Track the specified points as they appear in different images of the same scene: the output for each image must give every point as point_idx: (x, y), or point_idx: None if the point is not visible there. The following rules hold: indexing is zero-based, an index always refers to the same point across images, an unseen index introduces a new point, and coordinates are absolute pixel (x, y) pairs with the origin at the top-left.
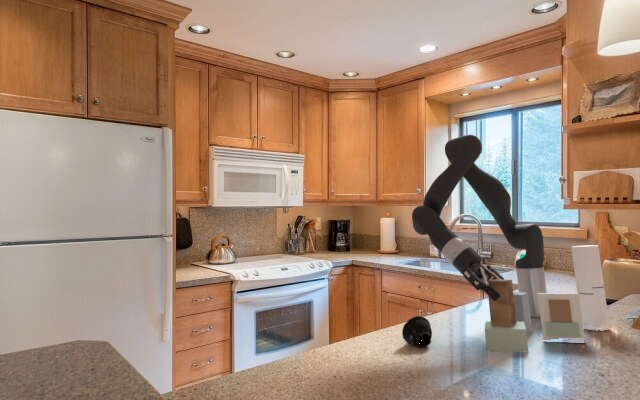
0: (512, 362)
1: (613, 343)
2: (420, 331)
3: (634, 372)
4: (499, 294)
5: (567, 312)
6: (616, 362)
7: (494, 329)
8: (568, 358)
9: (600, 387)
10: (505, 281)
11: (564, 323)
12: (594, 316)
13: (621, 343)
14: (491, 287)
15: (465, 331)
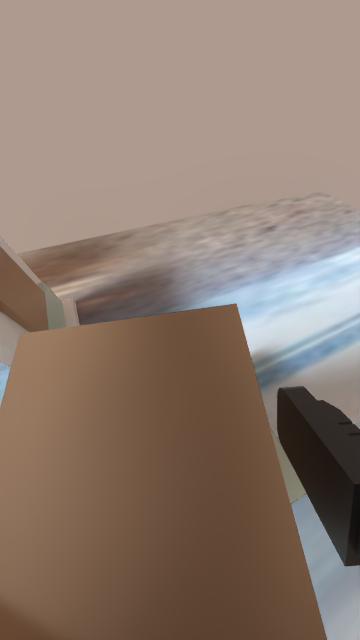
0: (325, 357)
1: (49, 270)
2: None
3: (225, 209)
4: (281, 389)
5: (26, 280)
6: (186, 234)
7: (280, 446)
8: (209, 288)
9: (328, 214)
10: (230, 306)
11: (47, 310)
12: None
13: (45, 262)
14: (349, 452)
15: None
